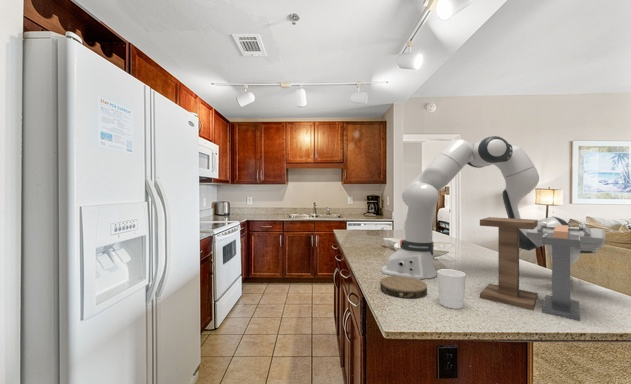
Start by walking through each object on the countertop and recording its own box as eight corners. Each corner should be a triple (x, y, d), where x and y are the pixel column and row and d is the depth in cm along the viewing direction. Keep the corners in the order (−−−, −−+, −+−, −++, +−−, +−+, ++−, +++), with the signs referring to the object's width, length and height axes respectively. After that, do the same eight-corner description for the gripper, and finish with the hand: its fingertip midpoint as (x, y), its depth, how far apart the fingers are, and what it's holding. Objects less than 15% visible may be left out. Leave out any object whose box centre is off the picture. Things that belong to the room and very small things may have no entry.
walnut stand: (489, 287, 101) (489, 217, 101) (537, 297, 92) (537, 219, 92) (479, 298, 91) (479, 219, 91) (533, 310, 81) (533, 222, 81)
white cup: (464, 312, 80) (464, 277, 80) (435, 306, 84) (435, 273, 84) (466, 303, 87) (466, 271, 87) (439, 297, 91) (439, 267, 91)
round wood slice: (435, 292, 97) (435, 283, 97) (412, 303, 87) (412, 294, 87) (396, 281, 109) (396, 273, 109) (371, 290, 99) (371, 282, 99)
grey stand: (545, 299, 90) (545, 232, 90) (579, 306, 85) (579, 234, 85) (542, 312, 80) (542, 237, 80) (580, 321, 74) (580, 240, 75)
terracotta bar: (556, 230, 95) (556, 224, 95) (568, 231, 93) (568, 225, 93) (553, 237, 79) (553, 230, 79) (567, 239, 77) (567, 231, 77)
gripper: (527, 230, 107) (523, 214, 99) (603, 236, 93) (606, 218, 85) (526, 245, 105) (522, 230, 96) (603, 254, 91) (607, 237, 82)
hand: (562, 224), depth 90 cm, fingers open, 8 cm apart
